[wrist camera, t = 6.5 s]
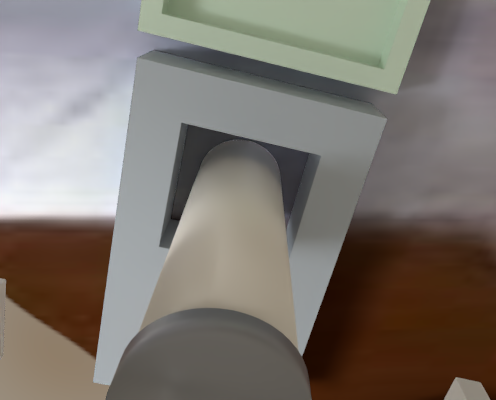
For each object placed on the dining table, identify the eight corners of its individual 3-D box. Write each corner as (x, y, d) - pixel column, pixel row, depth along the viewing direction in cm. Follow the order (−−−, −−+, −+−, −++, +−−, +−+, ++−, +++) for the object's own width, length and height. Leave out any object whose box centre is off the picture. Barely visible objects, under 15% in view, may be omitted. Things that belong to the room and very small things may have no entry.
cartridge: (187, 208, 28) (93, 474, 12) (204, 126, 26) (117, 319, 10) (271, 227, 29) (282, 509, 13) (294, 147, 27) (341, 365, 11)
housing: (109, 344, 32) (93, 382, 29) (153, 50, 25) (137, 57, 22) (278, 378, 33) (279, 418, 30) (371, 103, 26) (387, 118, 22)
